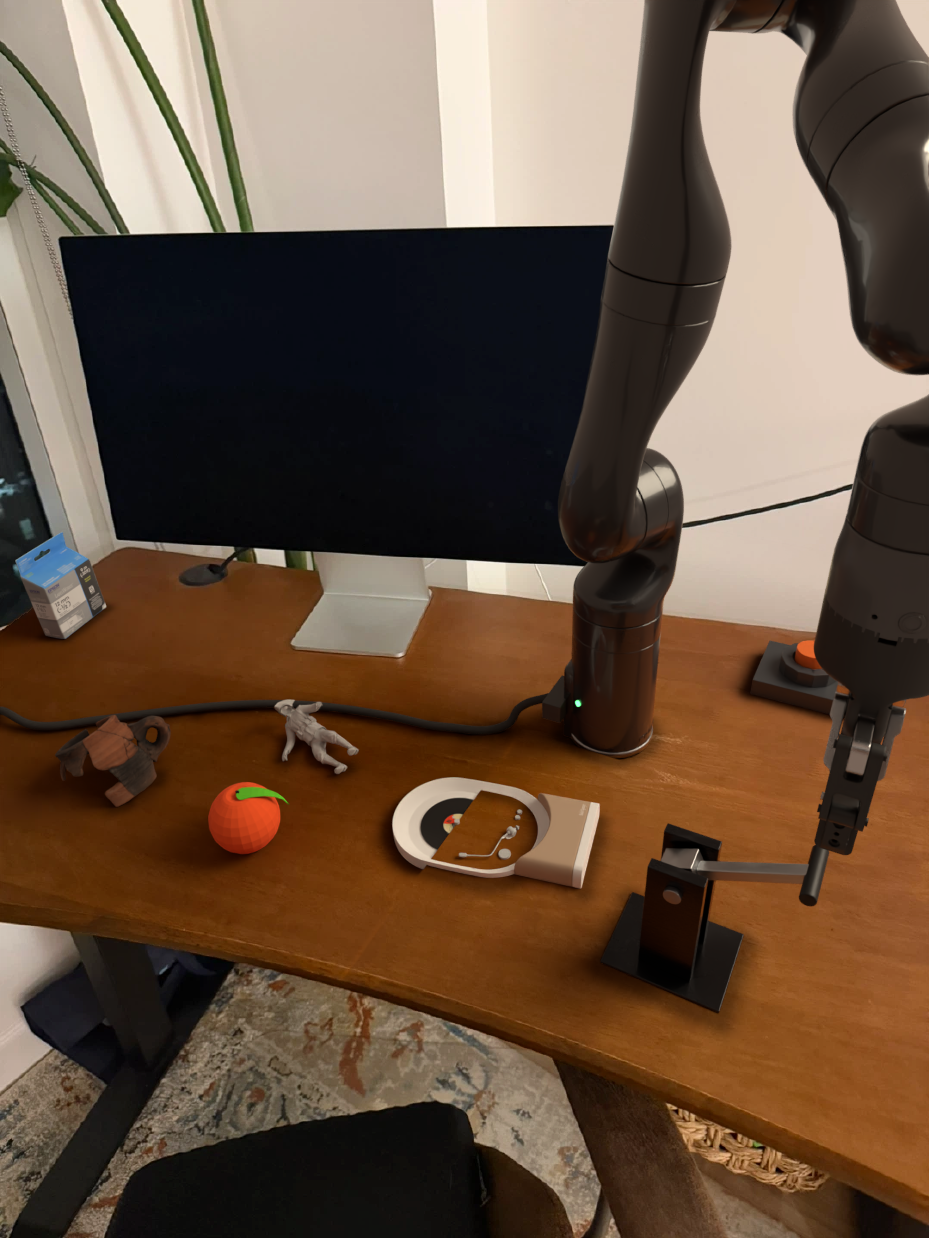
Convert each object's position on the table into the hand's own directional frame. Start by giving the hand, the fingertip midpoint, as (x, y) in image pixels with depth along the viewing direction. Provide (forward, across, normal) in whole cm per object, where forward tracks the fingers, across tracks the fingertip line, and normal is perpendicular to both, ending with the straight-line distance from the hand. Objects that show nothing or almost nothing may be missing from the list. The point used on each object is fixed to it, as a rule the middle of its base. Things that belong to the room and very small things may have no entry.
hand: (842, 803), depth 57 cm
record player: (+22, -5, -30) cm, 37 cm away
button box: (+22, -43, -6) cm, 48 cm away
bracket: (+22, 0, -10) cm, 24 cm away
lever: (+10, 0, -5) cm, 11 cm away
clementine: (+22, +6, -51) cm, 56 cm away
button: (+19, -43, -6) cm, 47 cm away
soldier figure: (+22, -8, -54) cm, 59 cm away
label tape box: (+22, -16, -102) cm, 106 cm away
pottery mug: (+22, +4, -71) cm, 74 cm away
